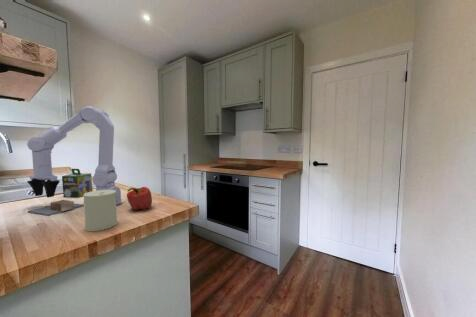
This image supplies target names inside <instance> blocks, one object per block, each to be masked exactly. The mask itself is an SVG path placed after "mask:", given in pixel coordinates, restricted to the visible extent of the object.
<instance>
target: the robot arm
mask: <svg viewBox="0 0 476 317" xmlns="http://www.w3.org/2000/svg"><path fill="white" fill-rule="evenodd" d="M82 124H92V125H93V126H95V127H96V128H97V129H98V130H99V137H98V138H99V141H98V143H99V144H98V161H97V162H98V165H97V167H96V168H95V170H94V175H93V176H92V177H91V178H92V184H93V185H94V186H95V191H97V190H115V191H116V206H117V205H120V204H121V205H122V204H123V203H124V202H123V201H122V195H121V193H122V191H121V188H120V187H119V186H117V185H116V182H115V181H116V180H117V178H118V175H117V172H116V167H115V166H114V165H113V161H114V159H113V158H114V139H115V138H114V137H115V126H114V123H113V122H112V121H111V118H110V115H109V114H108V113H107V112H105V111H104V110H102V109H99V108H96V107H93V106H91V105H87V106H84V107H83V108H81V109H79V110H77V111H76V114H74V115H73V116H72V117H70V118H68V120H66V121H64V123H62V124H61V125H60V126H50V127H48V128H47V129H48V130H46V131H45V132H44V133H40V134H39V135H38V136H37V137H35V136H33V137H30V139H28V141H27V143H26V145H27V147H28V149H29V150H31V155H32V157H31V158H32V169H33V174H29V179H30V180H27V184H28V185H29V186H30V187H31V189H32V191H33V193H34V195H35V197H39V196H43V194H44V191H45V195H46V197H47V198H53V197H55V194H56V193H55V192H56V191H57V188H58V185H59V184H60V183H61V181H60V179H59V180H58V175H54V174H53V165H52V164H53V163H52V150H54V148H55V145H56V144H58V143H60V142H61V141H63V139H65V138H67V137H68V135H67V133H69V132H70V131H72V130H74V129H75V128H78V127H79V126H81V125H82Z"/></svg>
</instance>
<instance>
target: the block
mask: <svg viewBox="0 0 476 317" xmlns="http://www.w3.org/2000/svg"><path fill="white" fill-rule="evenodd" d="M74 203H75V202H74V200H70V199H69V200H67V199H61V200H58V201H57V200H56V201H52V202H50V205H51V210H56V211H64V212H66V211H65V210H68V211H70V210H69V209H71V210H73V209H72V208H74Z"/></svg>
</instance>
